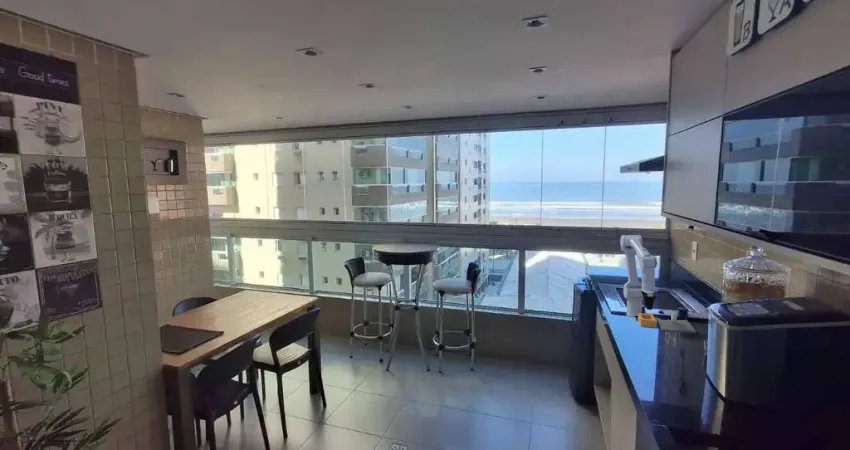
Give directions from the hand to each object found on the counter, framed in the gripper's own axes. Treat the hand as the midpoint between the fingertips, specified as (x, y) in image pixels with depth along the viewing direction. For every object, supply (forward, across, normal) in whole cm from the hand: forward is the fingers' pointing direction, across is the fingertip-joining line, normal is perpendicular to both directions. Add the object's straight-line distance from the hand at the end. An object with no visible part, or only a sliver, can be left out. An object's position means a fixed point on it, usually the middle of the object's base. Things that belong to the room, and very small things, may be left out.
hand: (648, 307), depth 197 cm
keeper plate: (+10, +6, -12) cm, 16 cm away
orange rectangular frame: (+10, +5, 0) cm, 11 cm away
